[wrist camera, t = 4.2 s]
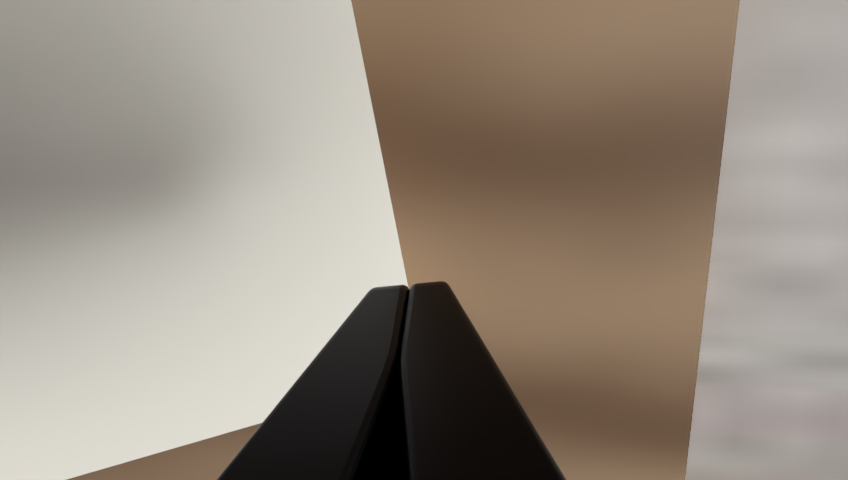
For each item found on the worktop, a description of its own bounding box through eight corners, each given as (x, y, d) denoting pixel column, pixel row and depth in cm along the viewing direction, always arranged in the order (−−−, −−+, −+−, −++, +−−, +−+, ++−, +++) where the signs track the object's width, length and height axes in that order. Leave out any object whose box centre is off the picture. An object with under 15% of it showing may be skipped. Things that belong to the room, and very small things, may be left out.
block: (425, 375, 13) (-36, 509, 12) (404, 316, 14) (-8, 430, 13) (328, -111, 8) (-442, 39, 7) (311, -125, 9) (-331, -2, 8)
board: (667, 436, 18) (683, 486, 17) (18, 480, 20) (-11, 529, 18) (787, -943, 7) (865, -1102, 5) (-756, -534, 8) (-961, -584, 7)
